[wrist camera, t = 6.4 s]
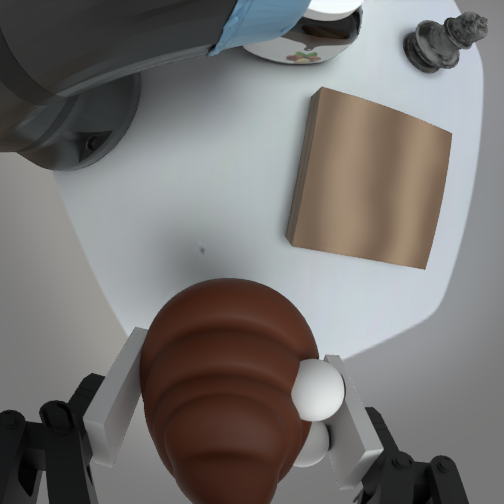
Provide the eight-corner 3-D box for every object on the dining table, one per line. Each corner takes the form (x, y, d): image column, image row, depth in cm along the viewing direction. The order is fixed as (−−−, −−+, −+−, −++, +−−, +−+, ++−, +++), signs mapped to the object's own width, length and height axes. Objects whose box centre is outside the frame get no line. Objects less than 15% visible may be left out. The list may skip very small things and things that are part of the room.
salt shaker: (447, 78, 26) (516, 55, 15) (407, 73, 26) (474, 41, 15) (435, 34, 25) (496, 1, 13) (395, 27, 25) (452, -17, 13)
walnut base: (285, 236, 30) (292, 246, 26) (311, 97, 27) (321, 86, 23) (406, 258, 31) (425, 269, 28) (431, 135, 28) (452, 133, 24)
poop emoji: (142, 267, 14) (26, 401, 5) (330, 272, 14) (436, 414, 5) (163, 423, 16) (131, 555, 7) (304, 427, 17) (333, 560, 8)
